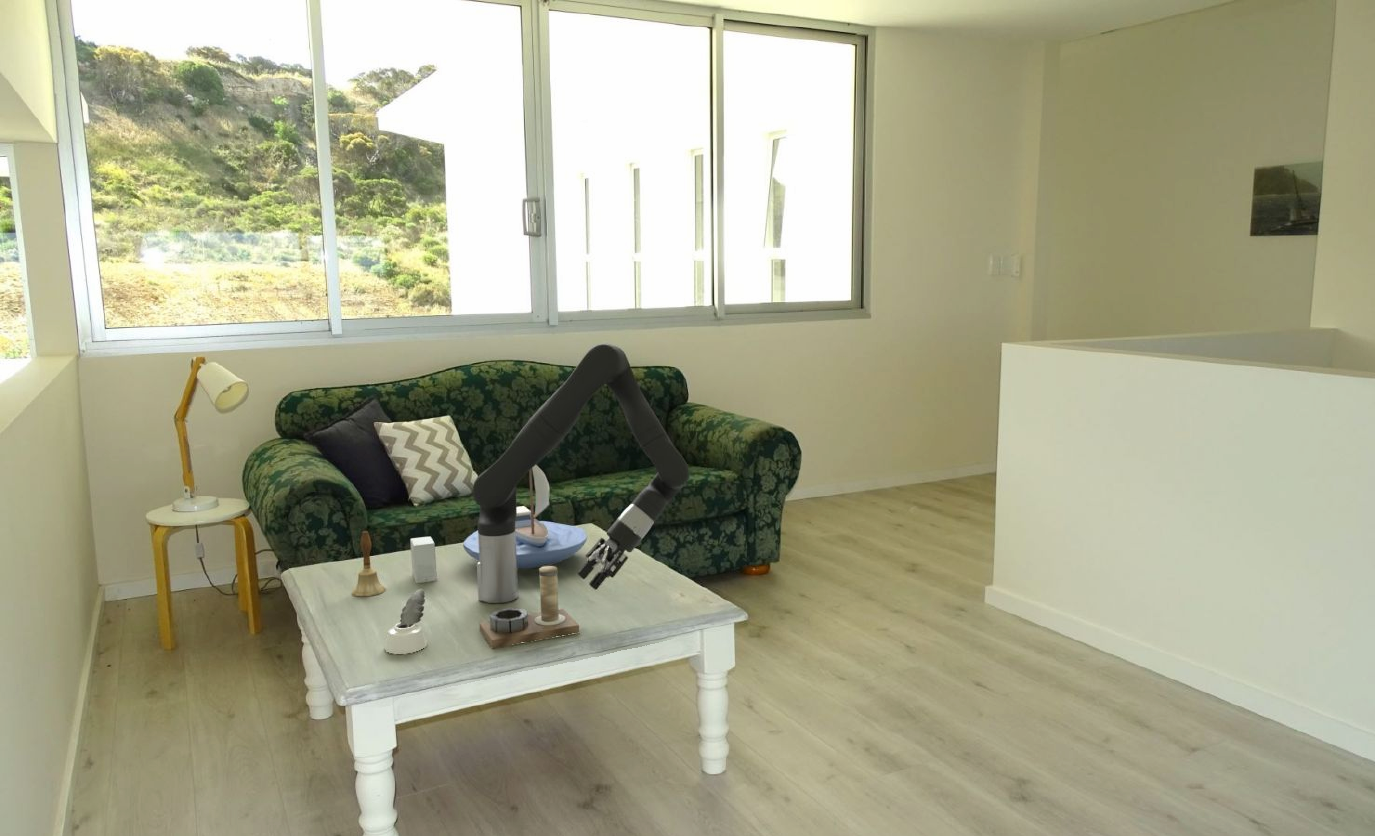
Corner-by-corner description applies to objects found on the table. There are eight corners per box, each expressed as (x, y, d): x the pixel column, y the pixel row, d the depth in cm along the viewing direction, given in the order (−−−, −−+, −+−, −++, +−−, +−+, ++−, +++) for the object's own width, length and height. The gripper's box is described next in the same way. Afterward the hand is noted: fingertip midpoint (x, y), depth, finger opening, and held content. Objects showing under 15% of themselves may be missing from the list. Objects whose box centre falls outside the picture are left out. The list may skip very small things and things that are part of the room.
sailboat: (480, 589, 255) (474, 467, 250) (452, 555, 287) (446, 446, 282) (605, 570, 270) (601, 454, 265) (565, 539, 301) (561, 435, 296)
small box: (437, 581, 263) (435, 543, 261) (415, 584, 261) (413, 545, 259) (433, 572, 270) (431, 535, 268) (412, 575, 268) (410, 538, 266)
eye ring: (486, 632, 219) (485, 619, 219) (498, 620, 227) (498, 607, 226) (520, 634, 218) (520, 621, 217) (532, 621, 226) (531, 609, 225)
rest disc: (530, 624, 223) (530, 623, 223) (540, 614, 230) (540, 613, 230) (560, 626, 222) (560, 625, 222) (568, 615, 229) (568, 614, 229)
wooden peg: (538, 621, 225) (536, 571, 223) (544, 615, 229) (542, 565, 227) (556, 622, 224) (554, 571, 222) (561, 616, 228) (559, 566, 226)
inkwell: (378, 655, 213) (375, 611, 211) (403, 625, 230) (400, 584, 229) (420, 655, 212) (418, 610, 211) (442, 625, 230) (440, 584, 229)
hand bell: (349, 589, 257) (345, 530, 255) (382, 584, 261) (378, 526, 258) (355, 598, 250) (350, 538, 247) (388, 593, 254) (384, 533, 251)
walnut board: (492, 648, 215) (491, 640, 215) (479, 630, 226) (479, 622, 226) (579, 633, 223) (579, 624, 223) (563, 616, 234) (562, 608, 234)
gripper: (609, 511, 237) (565, 564, 234) (630, 525, 224) (584, 581, 221) (630, 530, 239) (587, 582, 237) (652, 544, 227) (607, 600, 224)
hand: (586, 582), depth 229 cm, fingers open, 8 cm apart
